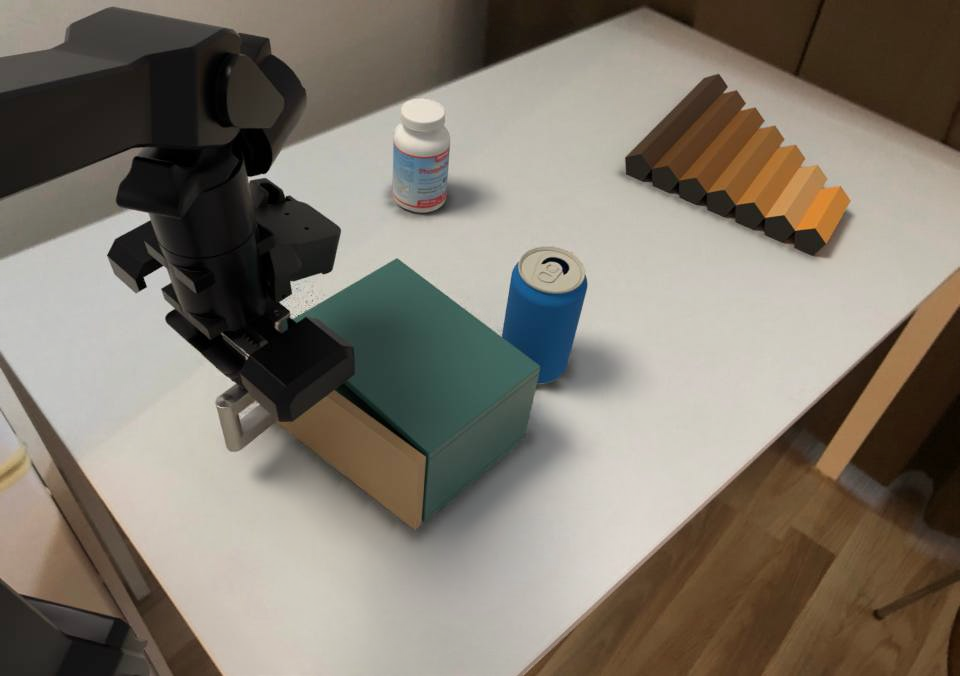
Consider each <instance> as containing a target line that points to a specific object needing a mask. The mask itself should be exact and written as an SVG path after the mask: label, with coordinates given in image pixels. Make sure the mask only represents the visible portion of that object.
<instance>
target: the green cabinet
mask: <svg viewBox="0 0 960 676" xmlns="http://www.w3.org/2000/svg"><path fill="white" fill-rule="evenodd" d="M305 317H311V318H317V319H319V320H321V321H322V322H323V323H324V324H326V325H327V326H328V327H329V328H331V329H332V330H333V331H334V332H336V333H337V334H338V335H339V336H341V337H342V338H343V339H344V340H346V341H347V342H348V343H350V344H351V345H352V346H353V347H354V356H355V375H353V376H352V377H351V378H349V379H348V380H347V381H346V382H344V383H343V384H342V385H340V386H339V387H338V388H336V389H335V391H336V392H338V393H339V394H340V395H342V396H343V397H344V398H346V399H347V400H349V401H350V402H351V403H353V404H354V405H355V406H357V407H358V408H360V409H361V410H362V411H364V412H365V413H366V414H368V415H369V416H371V417H372V418H373V419H375V420H376V421H377V422H379V423H380V424H382V425H383V426H384V427H386V428H387V429H388V430H390V431H391V432H393V433H394V434H395V435H397V436H398V437H399V438H401V439H402V440H404V441H405V442H406V443H408V444H409V445H410V446H412V447H413V448H415V449H416V450H417V451H419V452H420V453H421V454H423V455H424V456H425V457H426V463H425V478H424V493H423V508H422V522H423V523H426V522H428V520H430V519H431V518H433V516H435V515H436V514H437V513H438V512H439V511H441V510H443V508H444V507H445V506H446V505H447V504H449V503H450V502H451V501H453V500H454V499H455V498H456V497H458V496H459V494H460V493H462V492H463V491H464V490H465V489H467V488H468V487H469V486H470V485H471V484H473V482H475V481H476V480H477V479H478V478H480V477H481V476H482V475H483V474H484V473H486V472H487V471H488V470H489V469H491V467H493V466H494V465H495V464H496V463H498V462H499V461H500V460H501V459H502V458H503V457H504V456H505V455H507V454H508V453H509V452H510V451H512V450H513V449H515V447H516V446H517V445H519V444H520V443H521V442H522V441H524V439H526V435H527V431H528V426H529V421H530V418H531V412H532V407H533V404H534V400H535V399H534V398H535V394H536V389H537V385H538V384H537V381H538V377H539V372H540V365H538V364H537V363H536V362H534V361H533V360H532V359H530V358H529V357H528V356H526V355H525V354H524V353H522V352H521V351H520V350H518V349H517V348H516V347H514V346H513V345H512V344H510V343H509V342H508V341H506V340H505V339H504V338H502V335H500V334H499V333H497V332H496V331H494V330H493V329H492V328H490V327H489V326H488V325H486V324H485V323H484V322H483V321H481V320H480V319H479V318H478V317H476V316H475V315H473V314H472V313H471V312H469V311H468V310H467V309H465V308H464V307H463V306H461V305H460V304H459V303H458V302H456V301H455V300H453V299H452V298H451V297H450V296H448V295H447V294H446V293H444V292H443V291H442V290H440V289H439V288H438V287H437V286H435V285H434V284H432V283H431V282H429V281H428V280H427V279H426V278H424V277H423V276H422V275H420V274H419V273H417V272H416V271H415V270H414V269H413V268H411V267H410V266H408V265H407V264H406V263H404V262H403V261H402V260H401V259H399V257H396V258H394V259H393V260H391V261H389V262H387V263H386V264H384V265H383V266H381V267H379V268H377V269H376V270H374V271H371V272H370V273H369V274H367V275H365V276H364V277H362V278H360V279H359V280H357V281H355V282H353V283H352V284H350V285H348V286H346V287H345V288H342V289H341V290H339V291H338V292H336V293H335V294H333V295H331V296H329V297H327V298H326V299H324V300H322V301H321V302H319V303H317V304H316V305H315V306H313V307H311V308H309V309H307V310H306V311H303V312H302V313H299V315H297V316H295V317H293V318H292V319H293V320H294V321H295V322H296V323H297V322H299V321H300V320H302V319H303V318H305Z"/></svg>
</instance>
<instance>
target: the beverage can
mask: <svg viewBox="0 0 960 676" xmlns="http://www.w3.org/2000/svg"><path fill="white" fill-rule="evenodd" d="M588 285H589V284H588V279H587V275H586V268H585V265H584V263H583V262H582V260H581V259H580V258H579V257H578V256H577V255H576V254H574V253H573V252H571V251H569V250H567V249H565V248H561V247H559V246H558V247H557V246H551V245H542V246H536V247H533V248H530V249H528V250H527V251H525V252H524V253H523V254H522V255H521V257H520V258H519V261H517V263H516V264H515V265H514V267H513V268H512V271H511V276H510V282H509V287H508V295H507V301H506V307H505V314H504V318H503V319H504V320H503V324H502V325H503V326H502V332H501V337H502V338H504V339H505V340H506V341H508V342H509V343H510V344H512V345H513V346H514V347H516V348H517V349H518V350H520V351H521V352H522V353H524V354H525V355H526V356H528V357H529V358H530V359H532V360H533V361H534V362H536V363H537V364H538V365H540V372H539V377H538V381H537V385H543V384H544V385H545V384H548V383H552V382H554V381H556V380H558V379H559V378H560V377H562V375H564V373H565V372H566V370H567V368H568V364H569V361H570V357H571V353H572V349H573V345H574V341H575V337H576V334H577V330H578V326H579V322H580V319H581V314H582V310H583V306H584V302H585V299H586V295H587V291H588Z"/></svg>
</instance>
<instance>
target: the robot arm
mask: <svg viewBox="0 0 960 676" xmlns="http://www.w3.org/2000/svg"><path fill="white" fill-rule="evenodd" d="M307 104H308V95H307V89H306V88H305V87H304V86H303V84H302V82H301V80H300V79H299V76H298V75H297V74H296V72H295V71H294V70H293V69H292V68H291V67H290V66H289V65H288V64H287V63H286V62H285V61H283V60H282V59H280V58H279V57H278V56H276V55H275V54H272V45H271V39H270V38H269V37H265V36H261V35H254V34H249V33H244V32H237V31H236V30H235V29H234V28H228V27H224V26H218V25H214V24H207V23H202V22H198V21H197V22H196V21H192V20H186V19H181V18H176V17H170V16H165V15H160V14H155V13H150V12H144V11H138V10H133V9H128V8H123V7H117V6H109V7H106V8H103V9H101V10H98V11H96V12H94V13H92V14H90V15H88V16H87V15H86V16H85V17H83V18H80V19H78V20H76V21H73V22H71V23H70V24H69V25H68V26H67V27H66V29H65V34H64V40H63V42H62V43H60V44H58V45H56V46H54V47H51V48H47V49H41V50H35V51H30V52H23V53H17V54H12V55H6V56H0V202H2V201H4V200H7V199H9V198H12V197H15V196H17V195H20V194H22V193H24V192H27V191H30V190H31V189H34V188H37V187H39V186H42V185H44V184H47V183H50V182H52V181H54V180H57V179H59V178H62V177H65V176H68V175H70V174H72V173H74V172H77V171H79V170H82V169H84V168H87V167H89V166H93V165H94V164H97V163H100V162H102V161H105V160H108V159H110V158H112V157H115V156H117V155H119V154H122V153H124V152H127V151H129V150H132V149H140V148H141V149H140V151H139V152H138V153H137V155H135V156H133V158H132V159H131V164H130V169H129V171H128V172H127V173H126V175H125V176H124V178H122V180H121V181H120V183H119V185H118V187H117V192H116V196H115V203H116V206H117V207H119V208H122V209H127V210H130V211H131V210H132V211H137V212H142V213H145V214H148V216H149V219H150V220H148V221H146V222H144V223H142V224H140V225H139V226H136V227H135V228H133V229H131V230H129V231H127V232H125V233H124V234H122V235H120V236H117V237H116V238H114V240H113V242H112V244H111V247H110V248H109V250H108V252H107V254H106V257H107V259H108V262H109V264H110V267H111V270H112V272H113V274H114V275H115V276H116V277H117V278H118V279H119V280H120V281H121V282H122V283H123V284H124V285H125V286H127V287H128V288H129V289H130V290H131V291H132V292H134V293H135V294H138V293H140V292H142V291H143V290H145V289H147V288H148V286H147V282H146V280H145V277H147V276H149V275H151V274H153V273H154V272H156V271H157V270H159V269H161V268H163V267H164V268H165V269H166V271H167V274H168V277H169V279H170V283H168V284H167V285H165V286H163V287H161V288H160V290H161V293H162V296H163V299H164V301H165V302H166V303H168V304H169V305H170V306H171V307H172V308H173V309H172V310H170V311H169V312H167V314H166V315H165V317H164V320H165V323H166V324H167V325H168V326H169V327H170V328H171V329H172V330H174V332H176V333H177V334H178V335H179V336H180V337H181V338H182V339H184V340H185V342H187V344H189V345H190V346H191V347H193V348H194V349H195V350H196V351H197V352H198V353H200V354H201V355H202V357H204V358H205V359H206V360H207V361H208V362H209V363H210V364H211V365H212V366H213V367H215V368H216V369H217V370H218V371H219V372H220V373H221V374H222V375H224V376H225V377H226V378H228V379H230V380H231V381H232V382H233V383H235V384H237V385H239V386H240V387H241V388H242V389H243V390H247V391H248V392H249V394H250V395H251V396H252V398H253V399H254V400H255V402H256V403H257V404H258V405H261V406H262V407H263V408H264V409H265V410H266V411H268V412H269V413H270V414H271V415H272V416H273V417H274V418H275V419H277V420H278V421H279V422H293V421H294V420H296V419H297V418H298V417H300V416H301V415H302V414H304V413H305V412H306V411H308V410H309V409H310V408H311V407H313V406H314V405H315V404H317V403H318V402H319V401H321V400H322V399H323V398H325V397H326V396H327V395H329V394H330V393H331V392H332V391H334V390H335V389H336V388H338V387H339V386H340V385H342V384H343V383H344V382H346V381H347V380H348V379H349V378H351V377H352V376H353V375H355V356H354V347H353V346H352V345H351V344H350V343H348V342H347V341H346V340H344V339H343V338H342V337H341V336H339V335H338V334H337V333H336V332H334V331H333V330H332V329H331V328H329V327H328V326H327V325H326V324H324V323H323V322H322V321H321V320H319V319H317V318H311V317H305V318H303V319H302V320H300V321H299V322H297V323H296V322H295V321H294V320H293V319H294V318H292V317H291V311H290V310H289V309H288V308H287V307H286V306H285V305H283V304H282V303H281V302H282V301H284V300H285V299H287V298H288V297H290V296H291V295H293V289H292V283H291V282H296V281H300V280H303V279H306V278H309V277H310V278H311V277H314V276H315V275H319V274H321V275H327V274H330V273H331V272H332V271H333V270H334V265H335V261H336V257H337V252H338V247H339V244H340V239H341V234H342V228H341V227H340V226H339V225H338V224H336V223H335V222H334V221H333V220H331V219H330V218H328V217H327V216H325V215H324V214H322V212H320V211H319V210H317V209H316V208H314V207H313V206H311V204H308V203H306V202H303V201H300V200H297V199H296V198H295V197H293V196H292V195H291V194H290V195H285V192H284V190H283V189H282V188H281V187H280V186H278V185H277V184H276V183H274V182H272V181H271V180H270V179H268V178H267V177H261V178H254V179H251V180H250V181H249V178H252V177H256V176H261V175H266V174H268V172H269V171H270V169H272V166H273V165H274V164H275V161H276V160H277V158H278V157H279V155H280V153H281V151H282V150H283V148H284V147H285V146H286V144H287V142H288V140H289V139H290V137H291V135H292V134H293V132H294V131H295V129H296V127H297V125H298V124H299V122H300V120H301V119H302V117H303V116H304V114H305V111H306V109H307ZM148 644H149V641H148V639H144V638H139V637H136V636H135V634H134V632H133V629H132V627H131V626H130V625H129V624H128V622H126V621H125V620H123V619H122V618H121V617H118V616H114V615H110V614H105V613H102V612H97V611H93V610H90V609H89V610H88V609H85V608H80V607H76V606H72V605H69V604H64V603H60V602H55V601H52V600H48V599H43V598H40V597H35V596H31V595H27V594H22V593H19V592H17V591H16V590H15V588H13V587H12V586H10V585H9V584H8V583H7V582H5V581H4V580H3V579H2V578H1V577H0V676H151V671H150V670H151V669H150V665H149V662H148V660H147V658H146V656H145V655H144V654H142V653H143V652H144V650H145V649H146V648H147V646H148Z"/></svg>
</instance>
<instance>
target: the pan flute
mask: <svg viewBox="0 0 960 676" xmlns="http://www.w3.org/2000/svg"><path fill="white" fill-rule="evenodd" d="M728 88H729V86H728V84H727V82H726V81H725V80H724V78H723V77H722V75H721V74H720V73H716V74H712V75H709V76H705V77H704V78H702V79H701V80H700V81H699V82H698V83H697V85H695V86H694V87H693V88H692V89H691V90H690V91H689V93H687V95H685V97H683V98H682V100H680V101H679V103H678V104H676V105H675V106H674V107H673V109H671V111H669V113H668V114H666V115H665V116H664V117H663V118H662V119H661V120H660V121H659V123H658V124H657V125H656V126H655V127H653V128H652V130H651V131H650V132H649V133H648V134H647V135H646V136H645V137H644V138H642V140H640V142H639V143H638V144H637V145H636V146H635V147H634V148H633V149H632V150H631V151H630V152H629V153H627V155H626V156H625V157H624V162H625V175H627V176H630V177H632V178H634V179H637V180H639V181H641V182H643V181H644V180H645V179H647V177H648V176H649V175H650V174H651V184H652V187H655V188H657V189H659V190H662V191H663V192H666V193H668V194H670V192H671V191H673V189H674V188H675V187H676V186H677V185H678V196H679V198H680V199H682V200H684V201H687V202H689V203H691V204H693V205H695V206H696V205H698V204H699V203H700V201H701V200H702V199H703V198H704V197H705V196H706V210H707V211H709V212H712V213H714V214H717V215H719V216H721V217H723V218H725V217H726V216H727V215H728V214H729V213H730V212H731V211H732V210H733V208H735V214H734V215H735V216H734V221H735V223H737V224H739V225H742V226H744V227H746V228H749V229H751V230H754V229H755V228H757V226H759V225H760V224H761V223H762V221H763V220H764V235H765V236H767V237H769V238H770V239H771V238H772V239H774V240H776V241H778V242H781V243H784V242H785V241H786V240H787V239H788V238H789V237H790V236H792V234H793V233H794V243H793V244H794V246H793V248H794V249H797V250H799V251H801V252H804V253H806V254H808V255H810V256H813V257H814V255H816V254H817V253H818V252H819V251H820V250H821V249H823V248H824V247H825V246H826V245H827V243H828V242H829V240H830V238H831V237H832V236H833V233H834V231H835V230H836V228H837V226H838V225H839V223H840V221H841V219H842V217H843V215H844V214H845V212H846V210H847V208H848V207H849V205H850V203H851V202H852V200H851V199H850V198H849V195H848V194H847V193H846V191H845V190H844V188H843V187H842V185H836V186H830V187H825V188H824V186H825V184H826V182H827V181H828V178H827V176H826V175H825V173H824V172H823V170H822V169H821V167H820V165H819V164H813V165H807V166H802V165H803V163H804V162H805V160H806V157H805V155H804V154H803V153H802V151H801V149H800V148H799V147H798V146H797V144H795V143H794V144H790V145H785V146H781V145H782V144H783V142H784V141H785V139H786V138H784V135H782V133H781V132H780V131H779V129H778V127H777V126H776V125H771V126H766V127H761V126H762V125H763V124H764V123H765V121H766V120H765V118H764V117H763V115H761V113H760V112H759V111H758V108H756V107H750V108H746V109H743V108H744V107H745V105H746V104H747V102H746V101H745V100H744V98H743V97H742V95H741V94H740V92H739V91H738V90H737V89H735V90H731V91H727V92H726V90H727V89H728ZM780 146H781V147H780ZM801 166H802V167H801Z"/></svg>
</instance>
